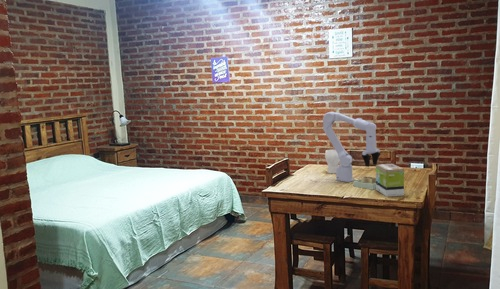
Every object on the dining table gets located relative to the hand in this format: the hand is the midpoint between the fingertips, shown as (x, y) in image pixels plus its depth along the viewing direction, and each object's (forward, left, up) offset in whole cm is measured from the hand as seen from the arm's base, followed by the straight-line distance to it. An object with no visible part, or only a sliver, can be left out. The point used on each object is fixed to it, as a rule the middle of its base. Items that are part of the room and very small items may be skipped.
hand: (371, 165), depth 259 cm
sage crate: (+6, -11, -10) cm, 16 cm away
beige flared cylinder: (-35, +7, -10) cm, 37 cm away
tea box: (+23, -17, -10) cm, 30 cm away
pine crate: (+6, -11, -9) cm, 16 cm away
